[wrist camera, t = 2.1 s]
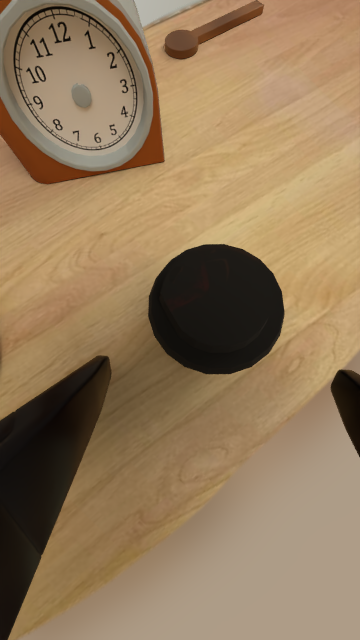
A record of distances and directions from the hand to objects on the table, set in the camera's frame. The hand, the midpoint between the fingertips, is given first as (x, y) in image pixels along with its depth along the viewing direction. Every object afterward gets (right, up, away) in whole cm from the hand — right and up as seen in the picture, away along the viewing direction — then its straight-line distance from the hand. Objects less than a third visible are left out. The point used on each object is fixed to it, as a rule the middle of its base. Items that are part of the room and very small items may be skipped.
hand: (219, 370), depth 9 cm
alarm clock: (-11, +22, +17) cm, 30 cm away
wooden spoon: (+3, +42, +23) cm, 48 cm away
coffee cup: (0, 0, +11) cm, 11 cm away
